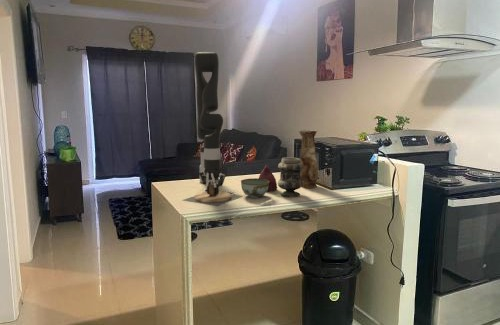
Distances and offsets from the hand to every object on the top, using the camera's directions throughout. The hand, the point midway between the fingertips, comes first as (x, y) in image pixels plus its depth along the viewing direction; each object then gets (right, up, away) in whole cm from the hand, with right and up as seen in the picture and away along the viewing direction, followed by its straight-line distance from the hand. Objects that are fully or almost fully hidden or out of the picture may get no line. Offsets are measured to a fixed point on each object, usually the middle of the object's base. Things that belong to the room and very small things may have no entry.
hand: (212, 194), depth 178 cm
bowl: (+20, -2, +4) cm, 20 cm away
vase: (+48, +2, +27) cm, 55 cm away
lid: (0, -2, 0) cm, 2 cm away
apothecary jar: (+37, -1, +8) cm, 38 cm away
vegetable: (+26, +1, +19) cm, 32 cm away
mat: (0, -2, 0) cm, 2 cm away
